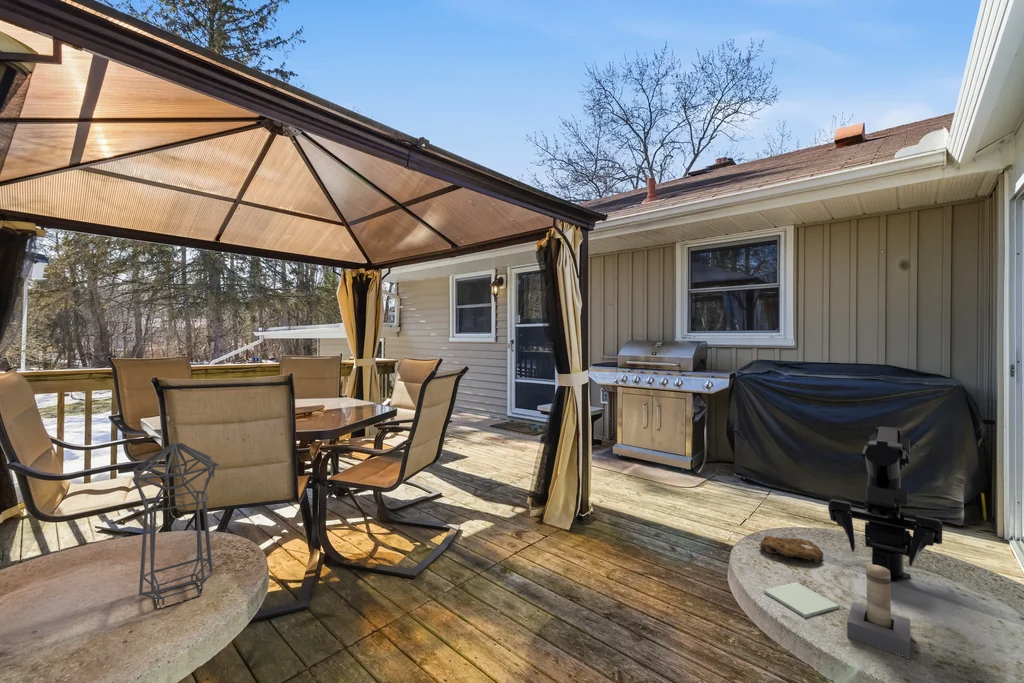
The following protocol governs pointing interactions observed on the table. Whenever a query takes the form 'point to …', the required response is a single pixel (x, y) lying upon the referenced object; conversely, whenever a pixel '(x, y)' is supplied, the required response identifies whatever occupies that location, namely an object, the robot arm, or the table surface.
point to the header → (879, 631)
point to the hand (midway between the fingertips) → (880, 557)
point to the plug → (878, 596)
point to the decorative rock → (791, 548)
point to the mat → (801, 599)
